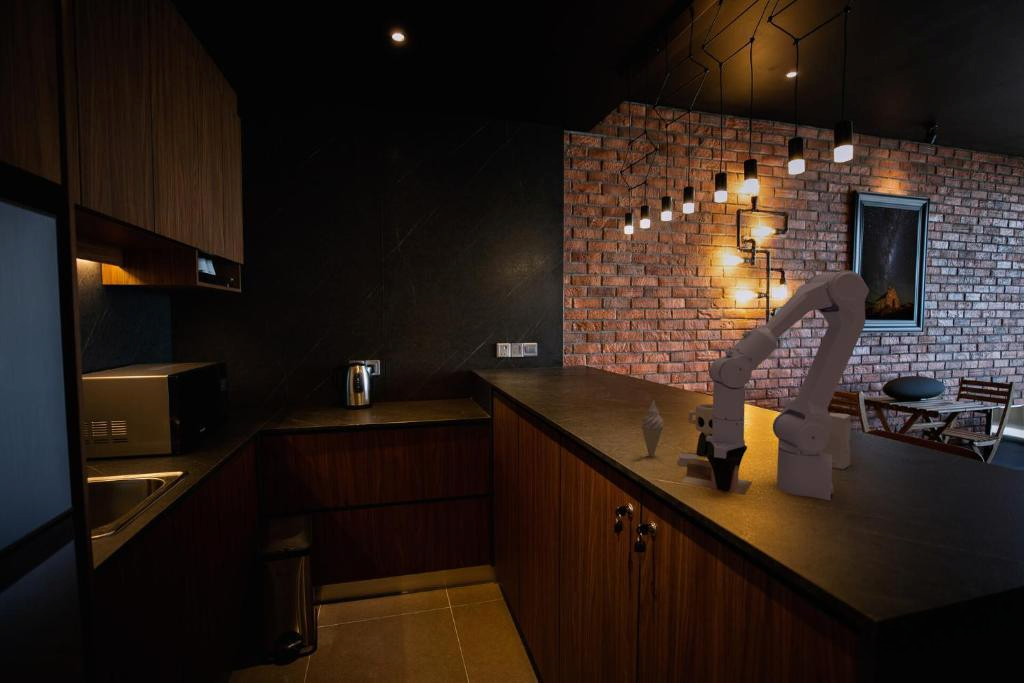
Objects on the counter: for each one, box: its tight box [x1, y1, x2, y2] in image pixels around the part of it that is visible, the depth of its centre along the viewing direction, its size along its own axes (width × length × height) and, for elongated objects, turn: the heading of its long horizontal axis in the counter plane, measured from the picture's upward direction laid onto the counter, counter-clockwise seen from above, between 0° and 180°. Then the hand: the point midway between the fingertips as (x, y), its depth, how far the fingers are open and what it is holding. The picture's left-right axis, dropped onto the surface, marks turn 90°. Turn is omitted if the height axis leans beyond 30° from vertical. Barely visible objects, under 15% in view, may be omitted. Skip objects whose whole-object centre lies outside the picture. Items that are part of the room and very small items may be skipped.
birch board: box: [680, 475, 753, 496], centre depth 99 cm, size 12×9×1 cm
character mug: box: [687, 403, 714, 458], centre depth 120 cm, size 11×7×13 cm, turn 52°
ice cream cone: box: [641, 399, 664, 458], centre depth 117 cm, size 5×5×15 cm
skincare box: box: [823, 412, 852, 470], centre depth 115 cm, size 6×4×12 cm
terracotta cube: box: [710, 466, 740, 494], centre depth 96 cm, size 4×4×4 cm
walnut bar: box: [686, 458, 712, 481], centre depth 102 cm, size 7×4×3 cm, turn 55°
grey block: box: [678, 453, 699, 468], centre depth 111 cm, size 4×4×3 cm
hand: (726, 485), depth 96 cm, fingers open, 6 cm apart
